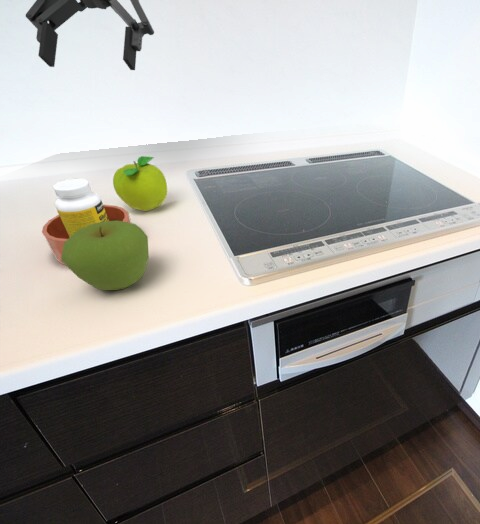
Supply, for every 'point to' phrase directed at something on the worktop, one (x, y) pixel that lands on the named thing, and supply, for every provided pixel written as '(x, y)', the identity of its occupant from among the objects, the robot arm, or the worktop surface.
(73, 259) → the apple
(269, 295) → the worktop surface
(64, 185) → the pill bottle
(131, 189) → the fruit
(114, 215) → the bowl
